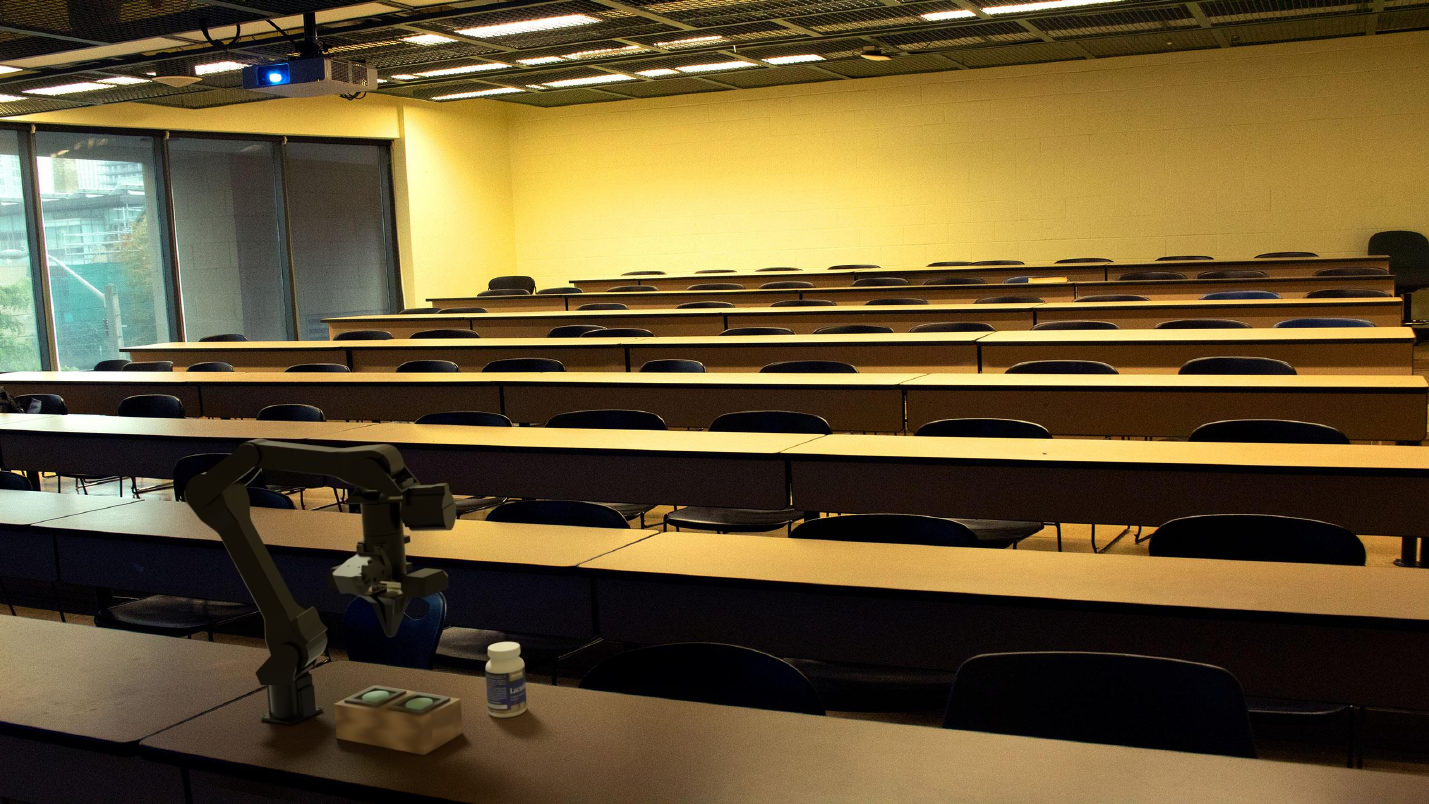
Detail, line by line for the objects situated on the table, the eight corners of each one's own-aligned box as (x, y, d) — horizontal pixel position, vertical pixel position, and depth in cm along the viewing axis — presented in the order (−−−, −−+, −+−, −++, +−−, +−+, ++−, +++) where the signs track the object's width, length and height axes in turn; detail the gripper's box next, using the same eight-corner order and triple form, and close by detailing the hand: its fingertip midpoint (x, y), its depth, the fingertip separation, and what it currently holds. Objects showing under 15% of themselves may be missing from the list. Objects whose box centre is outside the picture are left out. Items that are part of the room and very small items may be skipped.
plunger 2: (402, 741, 157) (400, 705, 156) (420, 732, 160) (417, 696, 159) (422, 745, 155) (420, 708, 154) (440, 735, 158) (437, 699, 158)
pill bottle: (518, 719, 163) (514, 652, 162) (481, 718, 164) (477, 651, 163) (532, 704, 169) (528, 640, 168) (497, 703, 170) (492, 639, 169)
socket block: (336, 738, 159) (333, 701, 159) (377, 717, 166) (374, 682, 166) (424, 755, 152) (421, 716, 151) (462, 733, 159) (460, 696, 159)
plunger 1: (359, 733, 160) (356, 698, 160) (377, 724, 163) (375, 689, 163) (378, 737, 159) (376, 701, 158) (396, 727, 162) (394, 692, 161)
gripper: (293, 540, 161) (302, 646, 163) (393, 548, 153) (401, 660, 155) (351, 524, 171) (359, 624, 173) (447, 531, 163) (454, 636, 164)
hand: (391, 636), depth 166 cm, fingers closed
